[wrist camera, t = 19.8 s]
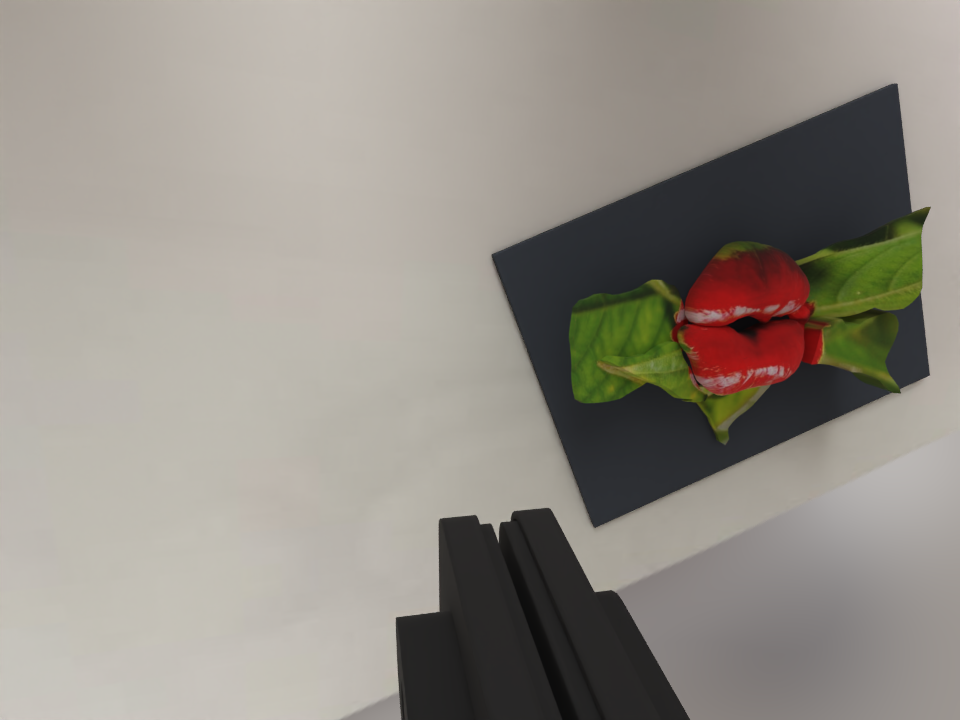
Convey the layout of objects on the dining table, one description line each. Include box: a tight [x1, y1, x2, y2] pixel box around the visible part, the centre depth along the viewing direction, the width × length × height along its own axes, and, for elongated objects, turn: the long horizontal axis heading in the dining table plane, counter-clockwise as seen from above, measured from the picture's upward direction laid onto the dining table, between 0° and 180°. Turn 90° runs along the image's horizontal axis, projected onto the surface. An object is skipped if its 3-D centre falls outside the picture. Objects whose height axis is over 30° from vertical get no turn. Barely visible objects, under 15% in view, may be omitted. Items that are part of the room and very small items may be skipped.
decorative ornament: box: [569, 207, 931, 445], centre depth 27 cm, size 15×5×10 cm
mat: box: [492, 84, 930, 528], centre depth 29 cm, size 18×14×1 cm
